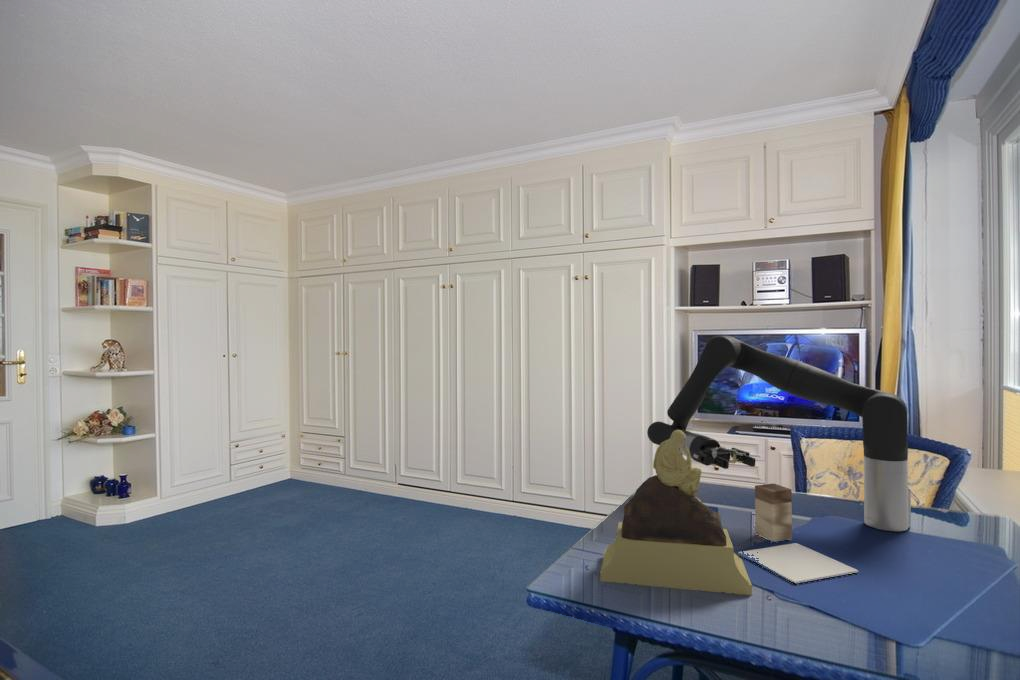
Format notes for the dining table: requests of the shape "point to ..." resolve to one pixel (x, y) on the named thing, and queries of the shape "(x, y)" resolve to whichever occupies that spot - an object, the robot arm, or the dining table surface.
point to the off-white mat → (799, 563)
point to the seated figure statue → (673, 533)
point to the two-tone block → (773, 512)
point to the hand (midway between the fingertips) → (741, 463)
